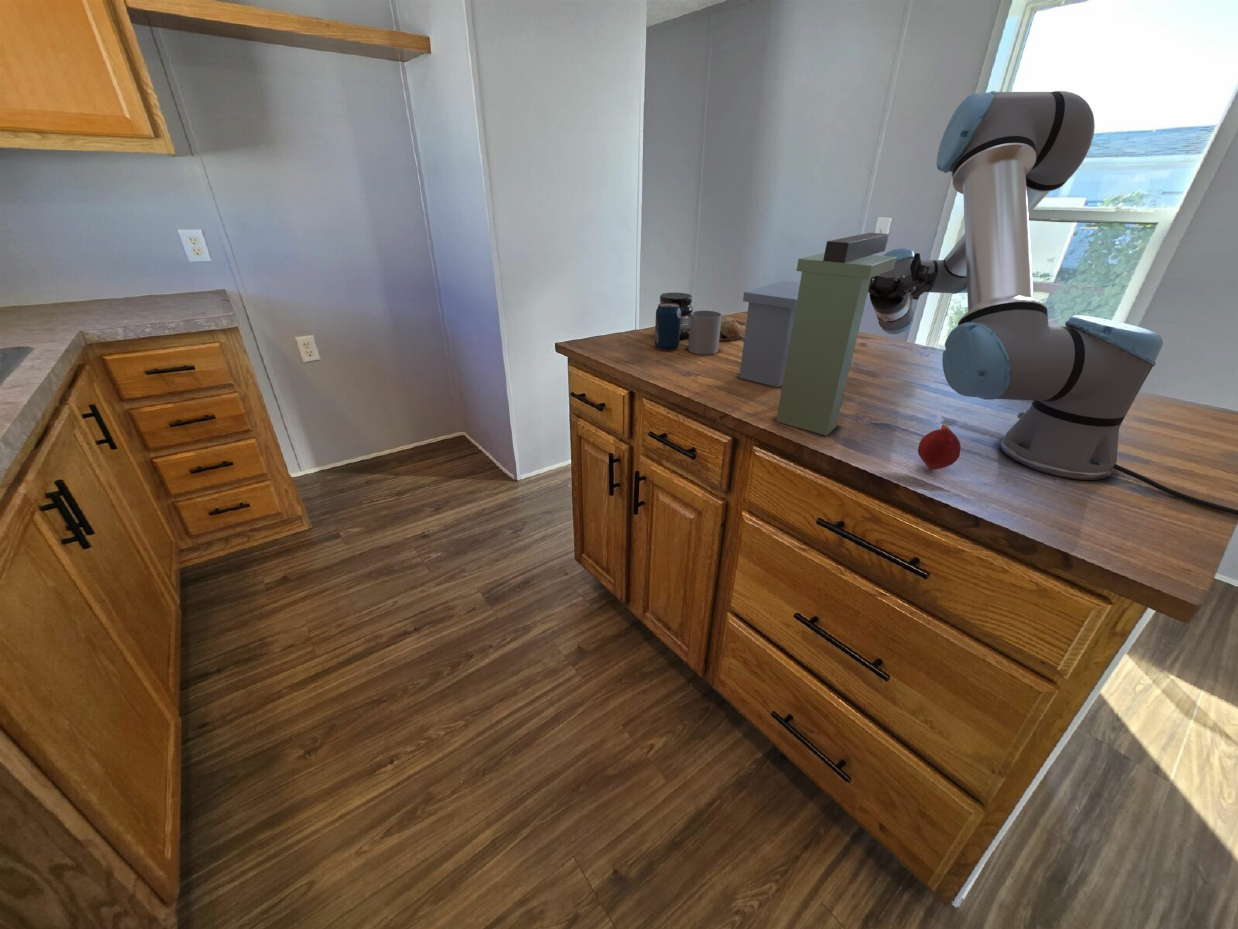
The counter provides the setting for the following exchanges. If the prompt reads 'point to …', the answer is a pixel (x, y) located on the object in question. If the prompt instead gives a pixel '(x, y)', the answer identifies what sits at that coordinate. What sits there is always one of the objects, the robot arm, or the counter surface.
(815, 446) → the counter surface
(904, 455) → the counter surface
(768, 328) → the grey lidded box
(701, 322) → the cup
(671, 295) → the supplement container
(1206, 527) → the counter surface
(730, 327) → the bread roll
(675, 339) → the soda can
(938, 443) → the onion
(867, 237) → the black bar
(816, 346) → the green capped pedestal
